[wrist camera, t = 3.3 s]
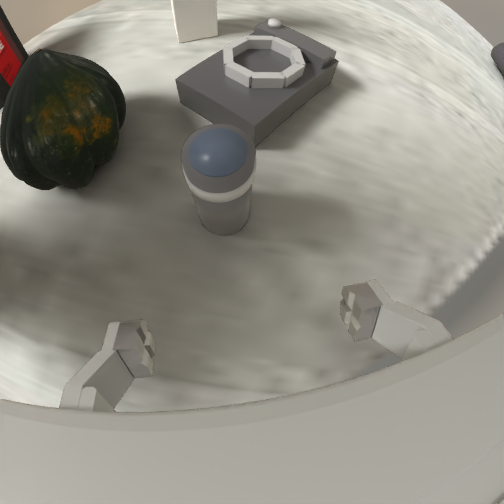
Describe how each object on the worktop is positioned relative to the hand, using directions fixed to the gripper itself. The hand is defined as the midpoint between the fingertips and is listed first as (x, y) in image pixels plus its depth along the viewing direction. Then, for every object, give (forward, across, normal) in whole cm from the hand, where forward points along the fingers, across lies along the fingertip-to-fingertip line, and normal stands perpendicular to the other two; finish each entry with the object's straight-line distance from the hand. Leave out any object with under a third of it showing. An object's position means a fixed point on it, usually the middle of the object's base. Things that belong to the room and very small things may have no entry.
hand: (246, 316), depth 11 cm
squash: (+25, +16, -5) cm, 30 cm away
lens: (+16, 0, +2) cm, 17 cm away
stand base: (+28, -6, -9) cm, 30 cm away
